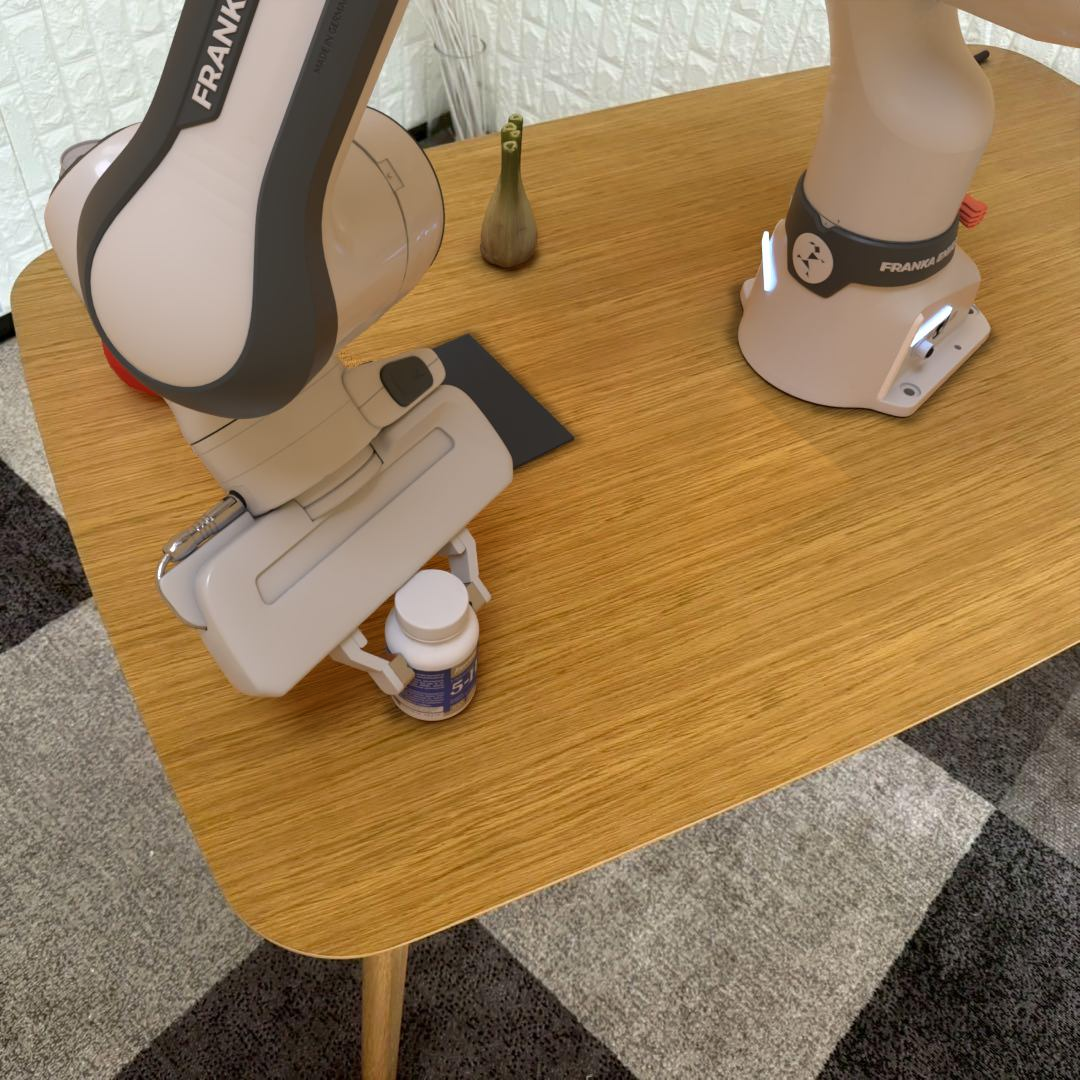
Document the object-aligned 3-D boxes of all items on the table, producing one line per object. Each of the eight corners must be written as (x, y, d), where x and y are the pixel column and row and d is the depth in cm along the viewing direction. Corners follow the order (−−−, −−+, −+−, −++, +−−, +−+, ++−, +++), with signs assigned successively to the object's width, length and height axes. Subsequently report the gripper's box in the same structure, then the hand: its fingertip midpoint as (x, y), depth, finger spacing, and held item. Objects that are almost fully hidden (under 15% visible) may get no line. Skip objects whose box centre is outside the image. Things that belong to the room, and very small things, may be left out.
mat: (468, 336, 83) (468, 333, 82) (574, 439, 76) (574, 437, 76) (290, 410, 76) (290, 407, 76) (390, 531, 69) (389, 528, 69)
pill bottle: (466, 731, 59) (468, 648, 53) (378, 713, 60) (369, 629, 53) (485, 655, 63) (489, 568, 56) (402, 639, 63) (396, 551, 56)
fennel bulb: (503, 231, 92) (509, 104, 83) (549, 251, 91) (560, 123, 81) (466, 262, 89) (468, 133, 79) (514, 283, 87) (521, 154, 78)
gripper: (156, 560, 45) (338, 785, 49) (452, 333, 56) (579, 533, 60) (115, 570, 50) (283, 773, 54) (394, 359, 61) (516, 543, 65)
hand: (441, 645), depth 57 cm, fingers closed on pill bottle, 5 cm apart
